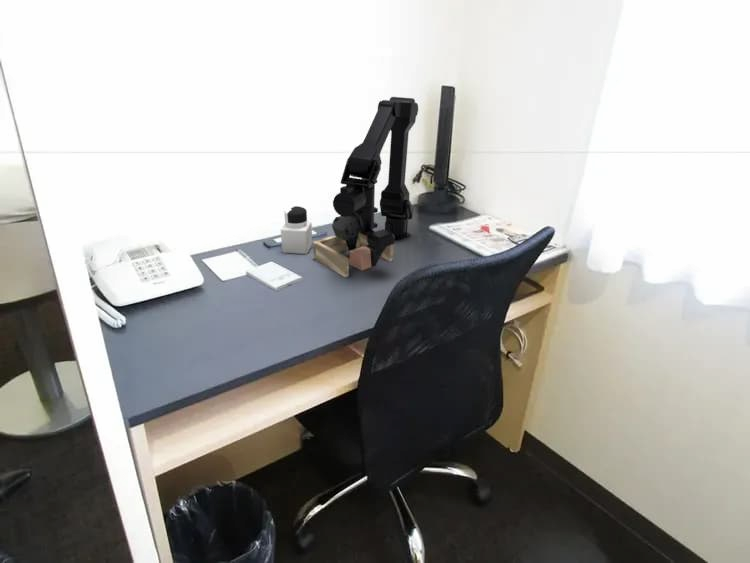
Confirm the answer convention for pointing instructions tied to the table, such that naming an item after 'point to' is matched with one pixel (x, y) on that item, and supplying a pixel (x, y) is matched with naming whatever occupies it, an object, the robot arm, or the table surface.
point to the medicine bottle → (296, 231)
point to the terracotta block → (360, 258)
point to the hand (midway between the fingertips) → (362, 260)
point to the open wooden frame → (332, 246)
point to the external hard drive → (273, 275)
